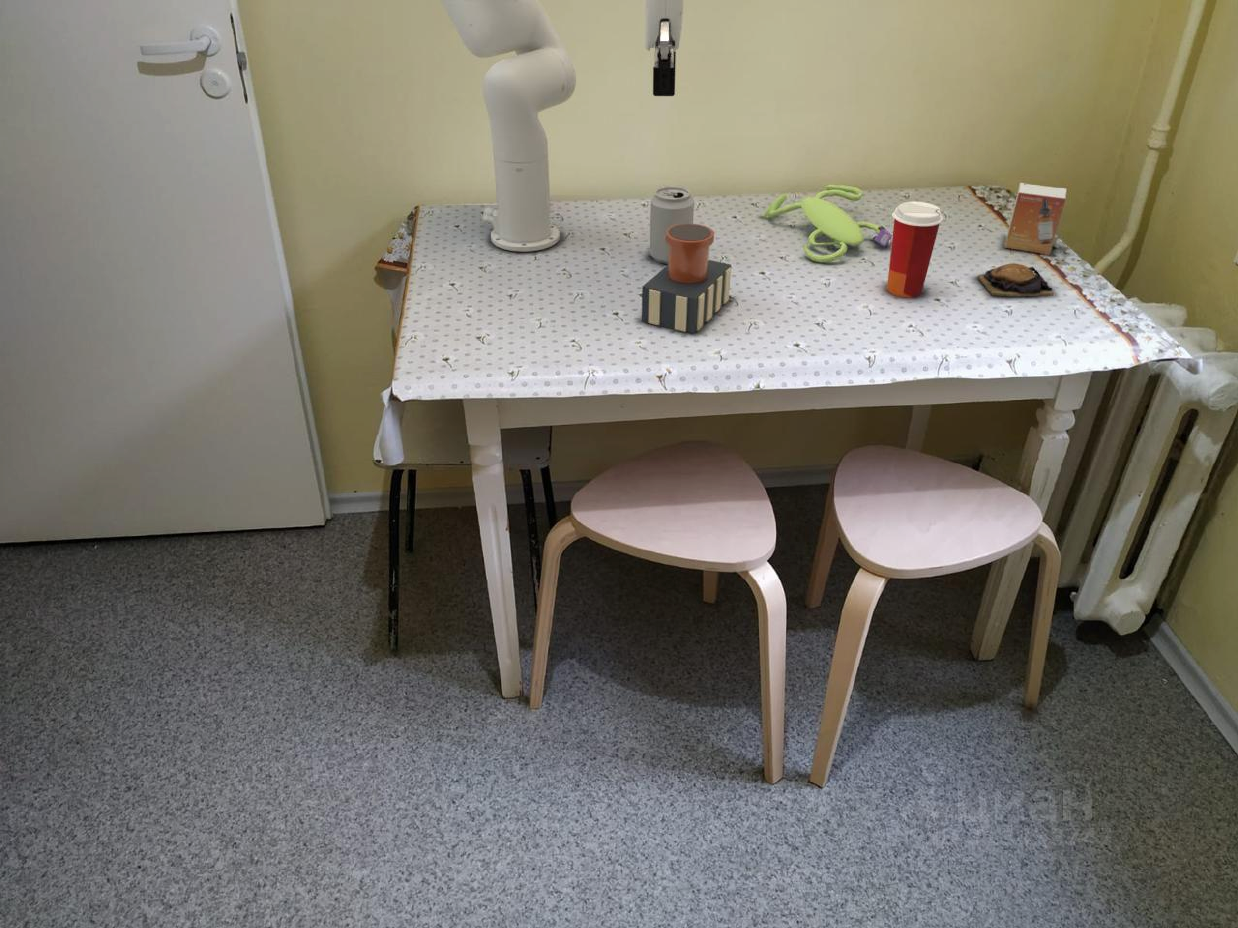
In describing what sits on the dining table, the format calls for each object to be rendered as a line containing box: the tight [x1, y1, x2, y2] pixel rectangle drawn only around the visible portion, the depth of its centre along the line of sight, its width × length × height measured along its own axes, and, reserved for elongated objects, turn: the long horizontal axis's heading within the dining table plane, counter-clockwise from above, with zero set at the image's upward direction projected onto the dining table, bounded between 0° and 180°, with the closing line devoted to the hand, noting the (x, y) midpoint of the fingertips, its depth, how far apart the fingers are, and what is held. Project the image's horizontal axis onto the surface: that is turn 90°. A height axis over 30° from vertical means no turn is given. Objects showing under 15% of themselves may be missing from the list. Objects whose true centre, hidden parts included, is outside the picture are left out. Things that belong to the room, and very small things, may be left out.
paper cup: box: [886, 201, 944, 298], centre depth 160 cm, size 8×8×14 cm
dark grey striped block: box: [641, 259, 732, 335], centre depth 157 cm, size 9×14×6 cm, turn 152°
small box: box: [1004, 182, 1068, 256], centre depth 177 cm, size 8×6×10 cm
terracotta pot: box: [665, 223, 715, 283], centre depth 153 cm, size 7×7×7 cm
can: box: [649, 185, 695, 265], centre depth 172 cm, size 8×8×12 cm
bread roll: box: [976, 262, 1054, 298], centre depth 165 cm, size 11×8×4 cm
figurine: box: [763, 184, 893, 263], centre depth 183 cm, size 18×27×6 cm
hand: (664, 87), depth 149 cm, fingers open, 9 cm apart
